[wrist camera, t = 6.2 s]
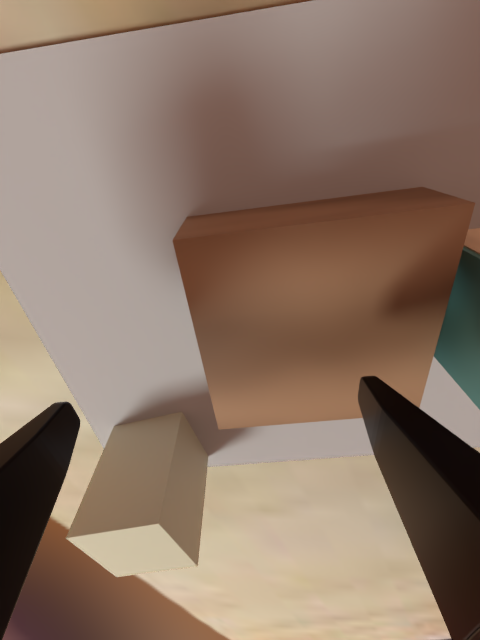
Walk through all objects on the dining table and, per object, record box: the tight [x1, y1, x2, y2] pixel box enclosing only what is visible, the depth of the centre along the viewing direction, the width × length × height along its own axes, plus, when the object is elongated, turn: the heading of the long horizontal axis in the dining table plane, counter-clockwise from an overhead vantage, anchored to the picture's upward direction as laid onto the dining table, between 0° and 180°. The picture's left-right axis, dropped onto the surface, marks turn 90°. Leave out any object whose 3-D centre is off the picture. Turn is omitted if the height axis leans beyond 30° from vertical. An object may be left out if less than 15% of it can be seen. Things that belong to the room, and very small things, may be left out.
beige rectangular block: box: [66, 412, 208, 577], centre depth 17 cm, size 4×4×6 cm
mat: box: [0, 0, 480, 467], centre depth 15 cm, size 22×26×1 cm
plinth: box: [172, 187, 475, 430], centre depth 13 cm, size 9×9×3 cm
